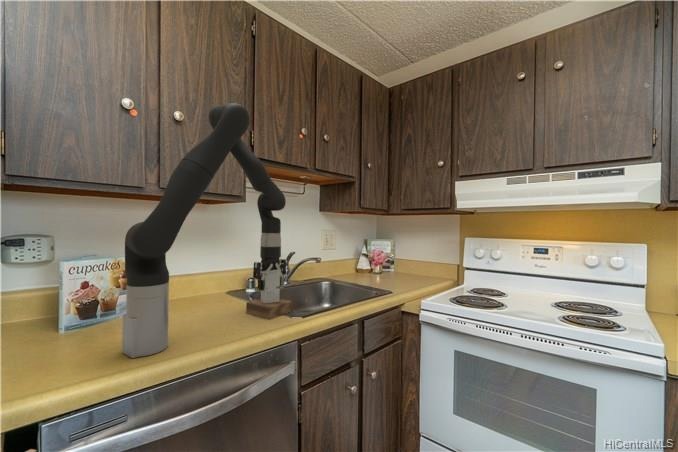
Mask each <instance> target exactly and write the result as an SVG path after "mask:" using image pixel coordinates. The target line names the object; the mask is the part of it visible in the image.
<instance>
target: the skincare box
mask: <svg viewBox="0 0 678 452" xmlns="http://www.w3.org/2000/svg"><path fill="white" fill-rule="evenodd" d="M263 272H265V271H263ZM261 277H262V276H261ZM280 289H281V287H280V270H279V269H278V270H277V269H276V270H270V271H269V273H268V274H267V275H266V276H265V278H264V290H262V291H261V290H260V299H261V302H262V303H264V304H266V303H273V302H279V298H281V297H280V294H281V293H280V292H281V291H280Z"/></svg>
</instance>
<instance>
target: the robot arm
mask: <svg viewBox="0 0 678 452" xmlns="http://www.w3.org/2000/svg"><path fill="white" fill-rule="evenodd" d="M208 120H209V124H210V127H211V129H212V131H211V132H210V134H209V135H207V137H205V138H204V139H202V141H201V142H199V143H198V144H196V145H195V146H194V147H192V148H191V149H190V150H189V151H188V152H187V153H186V154H185V155H184V156H183V157H182V159H181V160H180V161H179V163H178V164H177V166H175V168H174V170H173V171H172V174H171V175H170V177H169V179H168V182H167V184H166V187H165V189H164V193H163V195H162V197H161V199H160V200H159V203H158V204H157V206H156V207H154V208H153V210H152V212H151V213H150V214H149V215H148V216H147V217H146V219H144V221H141V222H137V223H134V224H133V225H132V226H131V227H130V228H129V229H128V230H127V231H126V234H125V237H124V271H125V277H126V295H125V296H126V299H125V300H126V303H125V304H126V306H125V310H126V311H125V314H123V315H122V332H121V334H122V336H121V338H122V339H121V344H122V346H121V348H122V349H121V350H122V351H121V353H122V354H124V355H126V356H127V357H129V358H130V359H135V358H139V357H145V356H146V357H147V356H151V355H155V354H158V353H160V352H162V351H164V350H166V349H167V348H168V347H169V312H170V310H169V308H170V307H169V303H170V302H169V301H170V296H169V295H170V272H169V269H168V266H167V261H166V259H167V258H166V256H167V255H166V254H167V253H168V251H170V249H172V247H173V244H174V242H175V240H176V239H177V236H178V235H179V232H180V230H181V229H182V226H183V224H184V223H185V221H186V218H187V217H188V216H189V214H190V212H191V211H192V210H193V209H194V208H195V205H196V204H197V203H198V201H199V200H200V198H201V197H202V195H203V194H204V192H205V191H206V190H207V188H208V186H209V185H210V183H212V180H214V177H215V175H216V173H217V172H218V171H219V169H220V167H221V166H222V164H223V163H224V162H225V160H226V158H227V156H228V155H229V153H231V155H232V156H233V157H234V158H235V160H236V162H237V163H238V164H239V166H240V167H241V169H242V170H243V173H244V174H245V176H246V177H247V179H248V181H249V183H250V184H251V186H252V188H253V189H254V191H255V192H259V193H260V194H259V195H258V198H257V201H256V202H257V203H256V204H257V209H258V213H259V217H260V221H261V230H260V231H261V234H260V245H259V247H260V249H259V250H260V252H259V253H260V254H259V255H260V256H259V257H260V259H261V261H260V262H259V261H255V262H253V269H252V270H253V273H252V278H253V279H255V280H257V289H258V291H260V292H261V291H262V290H264V278H265V276H266V275H267V274H268V273H269V271H270V270H276V269H277V270H278V269H279V270H280V288H281V286H282V282H283V280H282V277H283V276H285V275H286V274H287V263H286V262H287V260H286V259H284V258H281V257H282V236H281V230H282V229H281V226H282V225H281V223H282V221H281V218H280V217H276V216H274V214H273V212H276V211H282V210H283V209H285V207H286V205H287V204H286V200H287V199H286V197H285V194H284V193H283V191H282V189H280V188H279V187H278V185H277V184H276V183H275V182H274V181H273V180H272V178H271V176H270V174H269V173H268V170H267V169H266V167H265V165H264V164H263V162H262V161H261V159H260V158H258V157H257V155H256V154H255V153H254V152H253V151H252V150H251V149H250V148H249V147H248V146H247V145H246V143H245V142H244V141H243V139H242V137H243V136H244V135H245V133H246V132H247V130H248V128H249V126H250V123H251V122H250V114H249V111H248V109H247V108H246V107H245V106H244V105H242V104H240V103H235V102H230V103H224V104H220V105H215V106H213V107H212V108H211V109H210V110H209V113H208ZM263 271H265V272H263ZM261 276H262V277H261Z"/></svg>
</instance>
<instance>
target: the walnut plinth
mask: <svg viewBox="0 0 678 452" xmlns="http://www.w3.org/2000/svg"><path fill="white" fill-rule="evenodd" d="M293 302H294V301H293V300H290V299H285V298H281V297H279V302H273V303H266V304H264V303H262V302H261V298H259V299H255V300H252V301H251V300H250V301H247V302H246V303H245V304H246V305H245V307H246V309H245V310H246V311H245V314H247V315H251V316H254V317H258V318H260V319H265V320H272V319H275V318H277V317H280V316H283V315H287V314H289V313H288V312H290V313H293V311H294V310H293V308H294V307H293V305H294V303H293Z"/></svg>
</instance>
